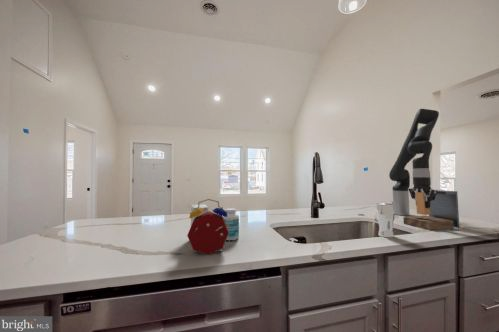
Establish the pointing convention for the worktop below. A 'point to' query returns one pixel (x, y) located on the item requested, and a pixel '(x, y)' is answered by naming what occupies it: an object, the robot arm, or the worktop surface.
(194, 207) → the skincare box
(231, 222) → the pill bottle
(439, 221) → the socket block
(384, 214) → the beer glass
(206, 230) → the alarm clock
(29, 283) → the worktop surface
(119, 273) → the worktop surface
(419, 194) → the peg
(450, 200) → the thin grey panel
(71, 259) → the worktop surface
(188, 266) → the worktop surface
